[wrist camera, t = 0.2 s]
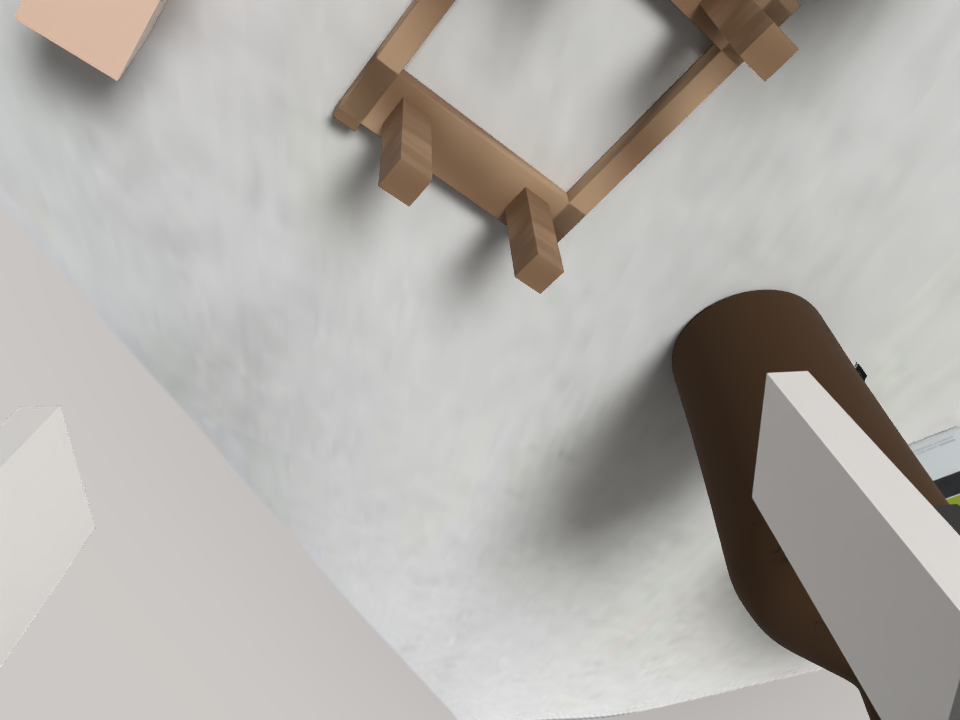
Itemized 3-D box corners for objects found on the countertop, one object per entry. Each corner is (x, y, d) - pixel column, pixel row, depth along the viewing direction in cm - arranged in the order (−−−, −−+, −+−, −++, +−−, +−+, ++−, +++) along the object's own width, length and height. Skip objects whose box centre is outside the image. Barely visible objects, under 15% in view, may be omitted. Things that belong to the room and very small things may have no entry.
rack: (584, -233, 30) (618, -207, 25) (793, -3, 36) (855, 57, 31) (335, 107, 39) (321, 179, 33) (538, 249, 45) (553, 329, 39)
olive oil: (639, 401, 53) (757, 814, 34) (695, 269, 46) (881, 695, 27) (789, 414, 55) (980, 816, 36) (864, 289, 48) (1149, 705, 29)
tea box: (994, 527, 65) (1112, 709, 54) (869, 569, 68) (956, 750, 57) (962, 418, 56) (1095, 610, 45) (819, 473, 59) (911, 665, 48)
